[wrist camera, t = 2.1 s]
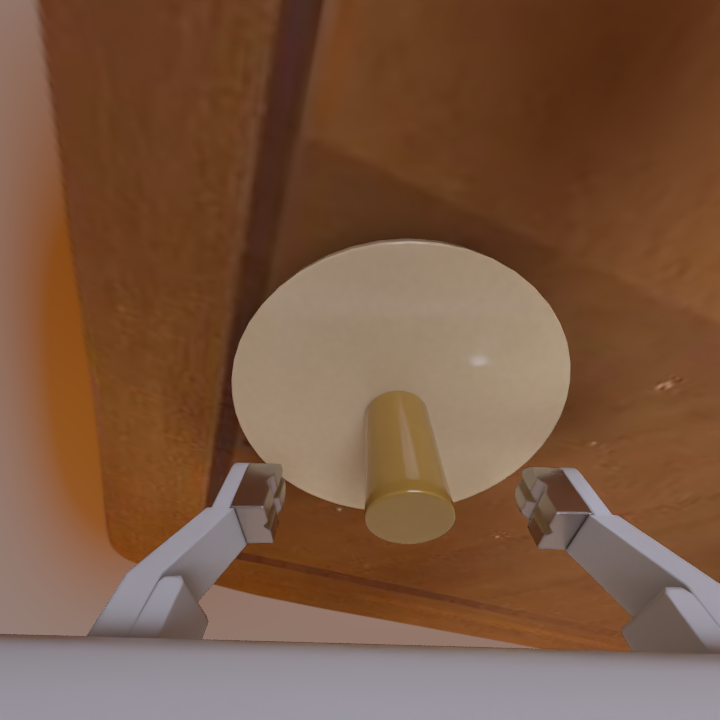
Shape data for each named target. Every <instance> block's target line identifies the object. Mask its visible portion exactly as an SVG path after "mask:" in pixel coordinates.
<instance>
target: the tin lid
mask: <svg viewBox="0 0 720 720" xmlns="http://www.w3.org/2000/svg"><path fill="white" fill-rule="evenodd" d="M569 384H570V356H569V350H568V344H567V340H566V338H565V335H564V332H563V329H562V326H561V324H560V322H559V320H558V318H557V317H556V315H555V313H554V311H553V310H552V308H551V306H550V305H549V303H548V302H547V301H546V300H545V299H544V298H543V296H542V295H541V294H540V293H539V292H538V291H537V289H536V288H535V287H534V286H533V285H531V284H530V283H529V282H528V281H526V280H525V279H524V278H523V277H522V276H520V275H519V274H518V273H517V272H515V271H514V270H512V269H510V268H508V267H507V266H505V265H503V264H501V263H500V262H498V261H496V260H494V259H493V258H491V257H489V256H487V255H485V254H482V253H479V252H477V251H474V250H471V249H469V248H466V247H464V246H460V245H455V244H450V243H446V242H441V241H436V240H424V239H409V238H406V239H392V240H379V241H374V242H370V243H365V244H360V245H355V246H351V247H348V248H346V249H343V250H340V251H337V252H335V253H332V254H329V255H326V256H324V257H323V258H321V259H319V260H317V261H315V262H313V263H311V264H309V265H308V266H306V267H304V268H302V269H301V270H300V271H298V272H297V273H295V274H294V275H293V276H291V277H290V278H289V279H287V280H286V281H285V282H283V283H282V284H281V285H280V286H279V287H278V288H277V289H276V290H275V291H274V292H273V293H272V294H271V295H270V296H269V297H268V298H267V299H266V300H265V301H264V302H263V304H262V305H261V306H260V308H259V309H258V310H257V312H256V313H255V315H254V316H253V317H252V319H251V320H250V321H249V323H248V325H247V327H246V329H245V331H244V333H243V335H242V337H241V339H240V341H239V345H238V348H237V351H236V355H235V358H234V363H233V371H232V397H233V402H234V407H235V412H236V415H237V418H238V421H239V423H240V426H241V429H242V430H243V432H244V434H245V436H246V438H247V440H248V441H249V443H250V444H251V446H252V447H253V449H254V450H255V451H256V453H257V454H258V455H259V456H260V457H261V459H262V460H263V461H264V462H265V463H266V464H281V466H282V470H283V472H282V475H281V477H282V478H284V479H285V480H287V481H288V482H290V483H291V484H293V485H294V486H296V487H298V488H300V489H302V490H303V491H305V492H307V493H309V494H311V495H314V496H316V497H319V498H321V499H324V500H326V501H330V502H333V503H336V504H339V505H343V506H348V507H352V508H357V509H364V518H365V523H366V525H367V527H368V529H369V530H370V531H371V532H372V533H373V534H374V535H376V536H377V537H379V538H381V539H383V540H386V541H389V542H393V543H398V544H418V543H424V542H428V541H431V540H434V539H436V538H438V537H440V536H442V535H444V534H445V533H446V532H448V531H449V530H450V528H451V527H452V526H453V524H454V522H455V517H456V511H455V508H454V504H453V503H454V502H457V501H460V500H462V499H465V498H468V497H471V496H473V495H475V494H478V493H480V492H482V491H484V490H486V489H488V488H490V487H492V486H494V485H495V484H497V483H499V482H501V481H502V480H504V479H505V478H507V477H508V476H509V475H511V474H512V473H514V472H515V471H517V470H518V469H519V468H520V467H521V466H522V465H524V464H525V463H526V462H527V461H528V460H529V459H530V458H531V457H532V456H533V455H534V454H535V453H536V452H537V451H538V450H539V449H540V447H541V446H542V445H543V444H544V442H545V441H546V440H547V438H548V437H549V435H550V434H551V433H552V431H553V429H554V427H555V425H556V424H557V422H558V420H559V418H560V416H561V413H562V411H563V408H564V405H565V402H566V400H567V395H568V389H569Z"/></svg>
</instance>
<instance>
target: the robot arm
mask: <svg viewBox="0 0 720 720" xmlns="http://www.w3.org/2000/svg"><path fill="white" fill-rule="evenodd" d="M282 472H283V470H282V466H281V464H266V463H237V462H236V463H235V464H234V465H233V466H232V467H231V469H230V471H229V473H228V475H227V477H226V479H225V481H224V483H223V485H222V487H221V489H220V491H219V493H218V495H217V497H216V499H215V501H214V503H213V505H212V507H211V508H206V509H205V510H203V511H202V512H201V513H200V514H198V515H197V516H196V517H195V518H193V519H192V520H191V521H190V522H189V523H187V524H186V525H185V526H184V527H182V528H181V529H180V530H179V531H177V532H176V533H175V534H174V535H173V536H171V537H170V538H169V539H168V540H166V541H165V542H164V543H163V544H162V545H160V546H159V547H158V548H157V549H155V550H154V551H153V552H152V553H150V554H149V555H148V556H147V557H146V558H144V559H143V560H142V561H141V562H139V563H138V564H137V565H136V566H134V567H133V568H132V569H131V570H130V571H128V572H127V573H126V575H125V576H124V578H123V580H122V581H121V583H120V584H119V586H118V588H117V589H116V591H115V592H114V594H113V595H112V597H111V598H110V600H109V602H108V603H107V605H106V606H105V608H104V610H103V611H102V613H101V614H100V616H99V617H98V619H97V621H96V622H95V624H94V625H93V627H92V629H91V630H90V632H89V633H88V635H87V636H59V635H57V636H56V635H18V634H0V720H720V584H719V583H718V582H716V581H715V580H713V579H712V578H710V577H709V576H707V575H706V574H704V573H703V572H701V571H700V570H698V569H697V568H695V567H694V566H692V565H691V564H689V563H688V562H686V561H685V560H683V559H682V558H680V557H679V556H677V555H676V554H674V553H673V552H671V551H670V550H669V549H667V548H666V547H664V546H663V545H661V544H660V543H658V542H657V541H655V540H654V539H652V538H651V537H649V536H648V535H646V534H645V533H643V532H642V531H640V530H639V529H637V528H636V527H634V526H633V525H631V524H630V523H628V522H627V521H625V520H624V519H622V518H621V517H619V516H618V515H612V514H611V513H610V511H609V510H608V509H607V507H606V506H605V505H604V503H603V502H602V501H601V500H600V498H599V497H598V496H597V494H596V493H595V492H594V490H593V489H592V488H591V486H590V485H589V484H588V483H587V481H586V480H585V479H584V477H583V476H582V475H581V473H580V472H579V471H578V470H576V469H575V468H556V467H526V468H525V469H524V470H523V472H522V474H521V475H522V477H523V479H524V480H522V481H521V482H519V483H518V484H517V487H516V490H515V497H516V502H517V506H518V508H519V510H520V512H521V514H522V515H524V516H525V517H526V518H527V519H528V520H529V523H528V529H529V531H530V533H531V535H532V537H533V539H534V541H535V543H536V545H537V547H538V548H542V549H562V550H566V552H567V553H568V554H569V555H570V556H571V557H572V558H573V559H574V560H575V561H576V562H577V563H578V564H579V565H580V566H581V567H582V568H583V569H584V570H586V571H587V572H588V573H589V574H590V575H591V576H592V577H593V578H594V579H595V580H596V581H597V582H598V583H599V584H600V585H601V586H602V587H603V588H604V589H605V590H606V591H607V592H608V593H609V594H610V595H611V596H612V597H613V598H614V599H615V600H616V601H617V602H618V603H619V604H620V605H621V606H622V607H623V608H624V609H625V610H626V611H627V612H628V613H629V614H630V615H631V616H632V617H633V618H632V619H631V620H630V621H628V622H627V623H626V624H625V625H624V626H623V628H622V631H621V632H622V634H623V636H624V638H625V639H626V641H627V643H628V645H629V646H630V648H631V650H632V651H601V650H565V649H529V648H527V649H526V648H493V647H492V648H491V647H455V646H421V645H385V644H349V643H348V644H347V643H313V642H276V641H240V640H204V639H202V638H203V635H204V632H205V629H206V627H207V624H208V619H207V616H206V614H205V613H204V611H203V610H202V608H201V607H200V605H199V604H198V602H199V600H200V599H201V598H202V597H203V596H204V594H205V593H206V592H207V591H208V590H209V589H210V587H211V586H212V585H213V584H214V583H215V582H216V580H217V579H218V578H219V577H220V576H221V574H222V573H223V572H224V571H225V570H226V569H227V567H228V566H229V565H230V564H231V563H232V561H233V560H234V559H235V558H236V557H237V556H238V554H239V553H240V552H241V551H242V550H243V548H244V547H245V546H246V545H247V544H246V543H273V542H274V538H275V534H276V531H277V527H278V523H279V520H278V516H277V514H278V513H279V512H280V511H281V510H282V508H283V504H284V500H285V492H286V485H285V480H284V479H283V478H282V477H281V475H282Z"/></svg>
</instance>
